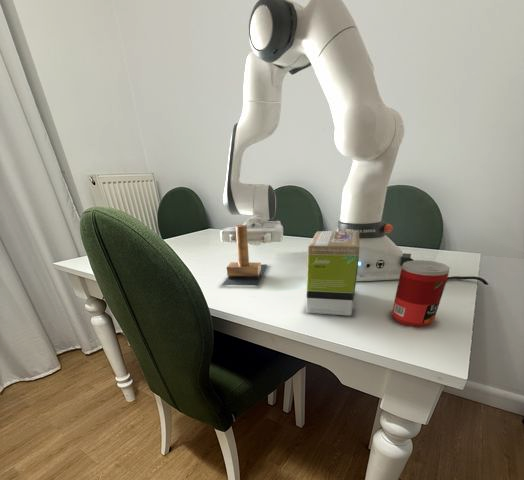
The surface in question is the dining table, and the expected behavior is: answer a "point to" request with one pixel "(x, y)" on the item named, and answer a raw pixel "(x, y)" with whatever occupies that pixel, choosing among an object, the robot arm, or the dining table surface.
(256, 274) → the brush
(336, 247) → the tea box
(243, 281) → the mat
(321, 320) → the dining table surface
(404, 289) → the canned food
